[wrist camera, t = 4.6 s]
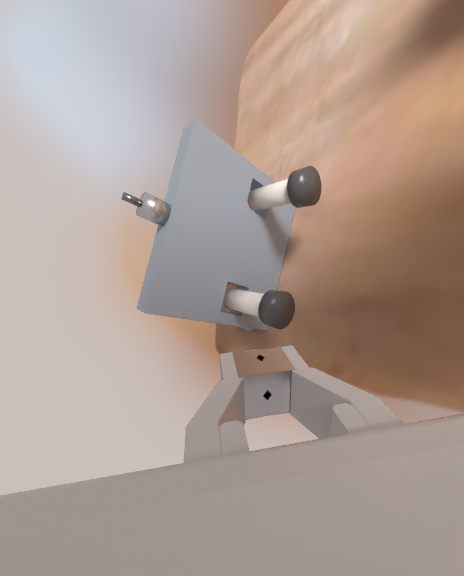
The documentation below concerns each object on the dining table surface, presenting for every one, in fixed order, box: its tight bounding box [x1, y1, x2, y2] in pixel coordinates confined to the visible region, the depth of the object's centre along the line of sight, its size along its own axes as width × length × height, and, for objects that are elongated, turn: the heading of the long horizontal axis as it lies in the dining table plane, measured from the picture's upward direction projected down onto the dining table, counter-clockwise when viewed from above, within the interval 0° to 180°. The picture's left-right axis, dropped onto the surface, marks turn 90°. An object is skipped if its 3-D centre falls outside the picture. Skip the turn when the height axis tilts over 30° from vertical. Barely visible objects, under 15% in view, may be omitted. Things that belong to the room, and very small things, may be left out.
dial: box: [122, 192, 171, 226], centre depth 27 cm, size 3×3×5 cm
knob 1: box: [248, 166, 321, 211], centre depth 33 cm, size 10×5×5 cm, turn 68°
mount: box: [137, 118, 296, 332], centre depth 37 cm, size 8×26×22 cm, turn 159°
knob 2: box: [223, 288, 295, 329], centre depth 32 cm, size 10×5×5 cm, turn 68°
